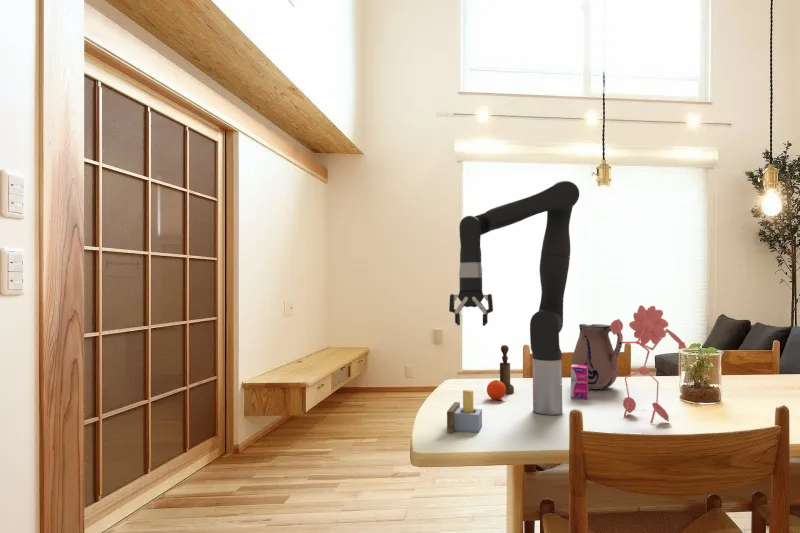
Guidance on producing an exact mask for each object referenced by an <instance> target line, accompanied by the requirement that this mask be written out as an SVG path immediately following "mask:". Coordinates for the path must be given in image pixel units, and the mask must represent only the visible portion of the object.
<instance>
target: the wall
mask: <svg viewBox="0 0 800 533" xmlns="http://www.w3.org/2000/svg"><path fill="white" fill-rule="evenodd" d="M458 408H461V402H459V401H454V402H453V404H452V405H451V406H450V407H449V408H448V410H446V433H447V434H454V432H455V431H454V413H455V411H456V410H457V409H458Z"/></svg>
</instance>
